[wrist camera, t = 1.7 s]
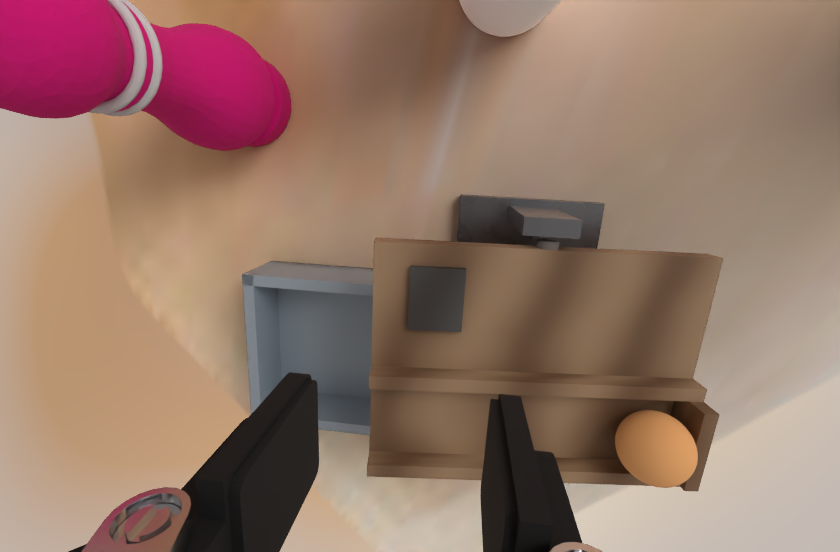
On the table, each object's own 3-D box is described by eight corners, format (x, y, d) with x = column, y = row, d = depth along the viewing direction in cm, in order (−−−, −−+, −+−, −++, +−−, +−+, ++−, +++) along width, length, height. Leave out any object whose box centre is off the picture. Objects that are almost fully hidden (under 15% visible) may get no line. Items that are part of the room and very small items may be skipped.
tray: (709, 247, 23) (762, 261, 19) (656, 465, 27) (692, 509, 23) (376, 230, 22) (369, 242, 19) (371, 455, 26) (364, 499, 23)
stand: (599, 202, 29) (654, 215, 20) (563, 424, 33) (595, 507, 25) (460, 194, 30) (459, 203, 21) (444, 411, 34) (437, 487, 26)
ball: (668, 395, 24) (725, 438, 20) (654, 451, 25) (706, 502, 21) (607, 397, 24) (653, 442, 20) (596, 454, 25) (638, 507, 21)
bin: (429, 272, 31) (423, 289, 27) (421, 406, 34) (415, 440, 30) (271, 260, 33) (242, 274, 28) (277, 391, 36) (251, 421, 31)
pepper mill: (192, 64, 29) (-326, -141, 10) (281, 36, 28) (-112, -255, 9) (224, 163, 31) (-169, 148, 12) (310, 140, 30) (29, 82, 11)
